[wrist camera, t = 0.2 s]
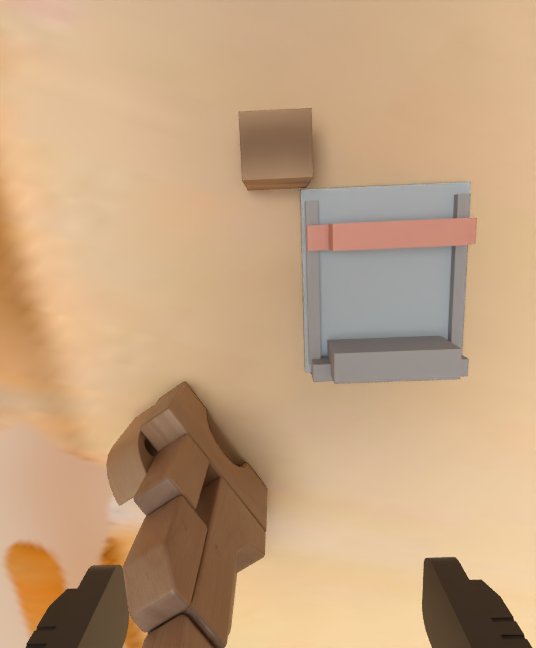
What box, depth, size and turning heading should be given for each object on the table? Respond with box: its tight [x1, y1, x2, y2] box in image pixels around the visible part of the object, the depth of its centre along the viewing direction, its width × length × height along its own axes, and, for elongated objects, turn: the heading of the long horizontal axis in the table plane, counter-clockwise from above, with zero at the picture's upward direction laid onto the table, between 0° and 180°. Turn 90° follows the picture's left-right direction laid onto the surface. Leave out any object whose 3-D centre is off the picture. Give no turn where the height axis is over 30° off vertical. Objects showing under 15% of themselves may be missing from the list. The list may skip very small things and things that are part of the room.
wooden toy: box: [107, 382, 267, 648], centre depth 29 cm, size 16×7×25 cm, turn 34°
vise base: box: [300, 182, 471, 384], centre depth 35 cm, size 16×14×6 cm
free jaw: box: [306, 218, 477, 251], centre depth 33 cm, size 2×13×4 cm, turn 92°
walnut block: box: [239, 108, 313, 190], centre depth 33 cm, size 4×5×6 cm
